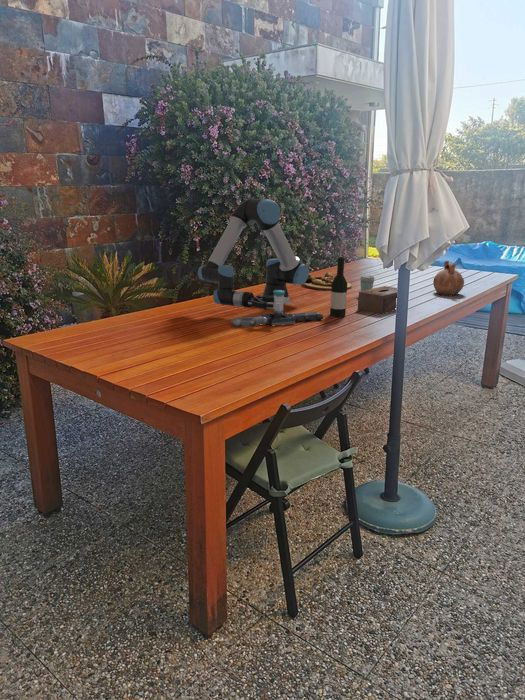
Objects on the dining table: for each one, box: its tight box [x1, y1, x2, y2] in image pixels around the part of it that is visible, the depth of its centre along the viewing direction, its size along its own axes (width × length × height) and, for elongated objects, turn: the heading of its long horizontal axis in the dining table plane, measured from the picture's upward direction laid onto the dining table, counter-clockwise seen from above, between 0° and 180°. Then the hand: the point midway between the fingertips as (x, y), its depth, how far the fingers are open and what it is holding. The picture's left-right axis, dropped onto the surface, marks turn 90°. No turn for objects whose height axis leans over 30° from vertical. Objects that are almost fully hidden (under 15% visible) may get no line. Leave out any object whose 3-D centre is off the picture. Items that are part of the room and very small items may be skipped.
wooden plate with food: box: [301, 271, 352, 291], centre depth 364 cm, size 32×32×8 cm
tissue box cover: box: [357, 285, 398, 315], centre depth 304 cm, size 26×14×10 cm, turn 137°
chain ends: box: [230, 311, 324, 328], centre depth 270 cm, size 12×46×3 cm, turn 114°
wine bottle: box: [329, 255, 348, 318], centre depth 283 cm, size 8×8×30 cm
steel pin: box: [273, 290, 285, 318], centre depth 268 cm, size 5×5×15 cm
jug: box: [432, 260, 465, 297], centre depth 346 cm, size 18×18×20 cm
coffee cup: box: [359, 274, 375, 291], centre depth 334 cm, size 8×9×12 cm
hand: (285, 303), depth 267 cm, fingers open, 13 cm apart
